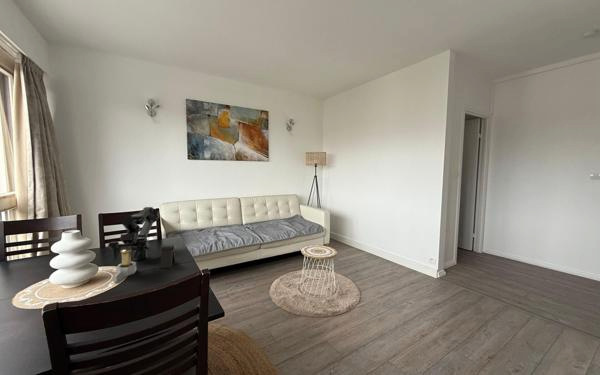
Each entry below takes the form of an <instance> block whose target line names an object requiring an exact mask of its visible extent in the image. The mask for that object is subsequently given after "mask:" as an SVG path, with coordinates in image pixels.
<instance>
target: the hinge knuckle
mask: <svg viewBox="0 0 600 375" xmlns="http://www.w3.org/2000/svg"><path fill="white" fill-rule="evenodd" d="M115 269H116V274H115V275H113V282H115V283H117V282H118V281H120V280H121V279H122V278H123V277H128V276H130V275H134V274H135V273H136V272H137V262H136V261H131V266H129V267H122V263H119V264H118V265H117V266H116V268H115Z"/></svg>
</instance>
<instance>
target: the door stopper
mask: <svg viewBox="0 0 600 375" xmlns="http://www.w3.org/2000/svg"><path fill="white" fill-rule="evenodd" d="M160 251H161V252H160V253H161V254H160V261H159V262H160V263H159V264H160V265H159V269H172V267H173V266H174V265H175V264H176V263H177V258H176V254H175V246H174V244H172V245H162V246H161V249H160Z"/></svg>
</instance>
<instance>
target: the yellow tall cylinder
mask: <svg viewBox="0 0 600 375" xmlns="http://www.w3.org/2000/svg"><path fill="white" fill-rule="evenodd" d="M131 252H132V248H124V249H121V250H120V252H119V254H120V255H121V264H122V267H129V266H131V262H132V261H131Z"/></svg>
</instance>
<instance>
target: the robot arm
mask: <svg viewBox="0 0 600 375" xmlns="http://www.w3.org/2000/svg"><path fill="white" fill-rule="evenodd" d="M159 218H160V212H159V210H157V209H155V208H154V207H151V206H144V207H143V209H142V210H141V211H139V212H138V213H136V214H131V215H126V217H125V218H123V219H122V220H121V225H123V227H124V229H126V230H127V231H126V233H122V234H120V237H119V238H120V239H119V240H120V241H121V242H122V243H119V241H110V242H109V243H108V245H107V247H108V248H109V249H110V250H111V251H113V257H114V261H117V260H118V258H119V255H120V251H121V250H120V249H121V248H130V249H131V251H135V253H134V255H133V260H134V261H133V262H136V261H144V260H147V259H148V257H149V254H147V253H148V252H147V250H150V249H151V245H150V242H149V241H148V236H149V233H150V231H151V229H152V227H153V225H154V223H155V222H157V221H158V220H159ZM139 225H142V227H140V226H139Z"/></svg>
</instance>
